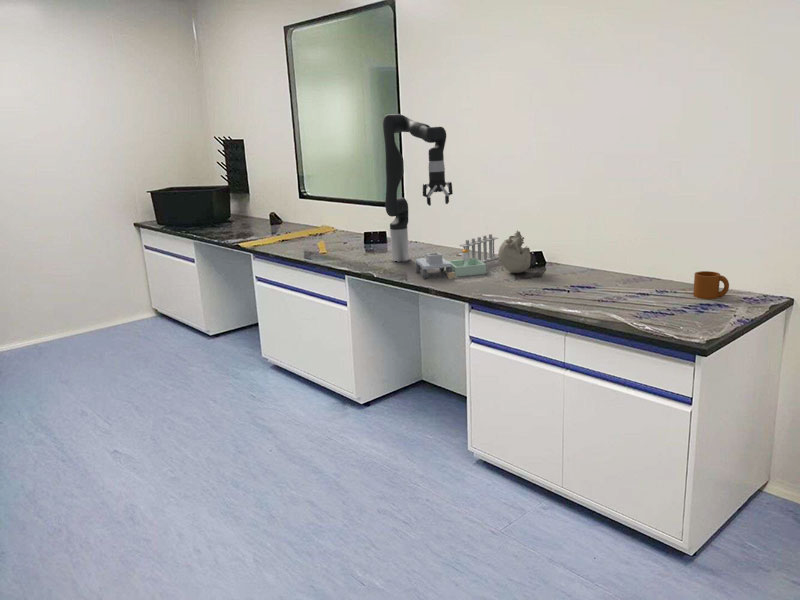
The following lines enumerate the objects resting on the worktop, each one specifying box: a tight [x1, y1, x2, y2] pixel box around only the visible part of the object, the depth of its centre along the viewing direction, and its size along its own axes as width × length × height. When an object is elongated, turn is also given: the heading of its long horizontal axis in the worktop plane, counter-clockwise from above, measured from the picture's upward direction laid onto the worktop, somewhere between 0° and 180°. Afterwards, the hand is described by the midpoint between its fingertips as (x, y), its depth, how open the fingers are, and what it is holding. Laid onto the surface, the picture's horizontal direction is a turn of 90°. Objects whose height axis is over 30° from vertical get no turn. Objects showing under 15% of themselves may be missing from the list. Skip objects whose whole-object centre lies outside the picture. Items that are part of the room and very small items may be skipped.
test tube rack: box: [459, 233, 499, 264], centre depth 317 cm, size 25×4×13 cm, turn 132°
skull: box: [497, 230, 531, 274], centre depth 291 cm, size 13×15×20 cm
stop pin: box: [462, 248, 470, 266], centre depth 300 cm, size 3×3×10 cm
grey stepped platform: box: [414, 251, 456, 280], centre depth 298 cm, size 20×14×10 cm
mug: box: [692, 270, 730, 300], centre depth 239 cm, size 9×12×9 cm
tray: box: [447, 257, 487, 278], centre depth 301 cm, size 15×15×4 cm
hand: (438, 204), depth 300 cm, fingers open, 8 cm apart
